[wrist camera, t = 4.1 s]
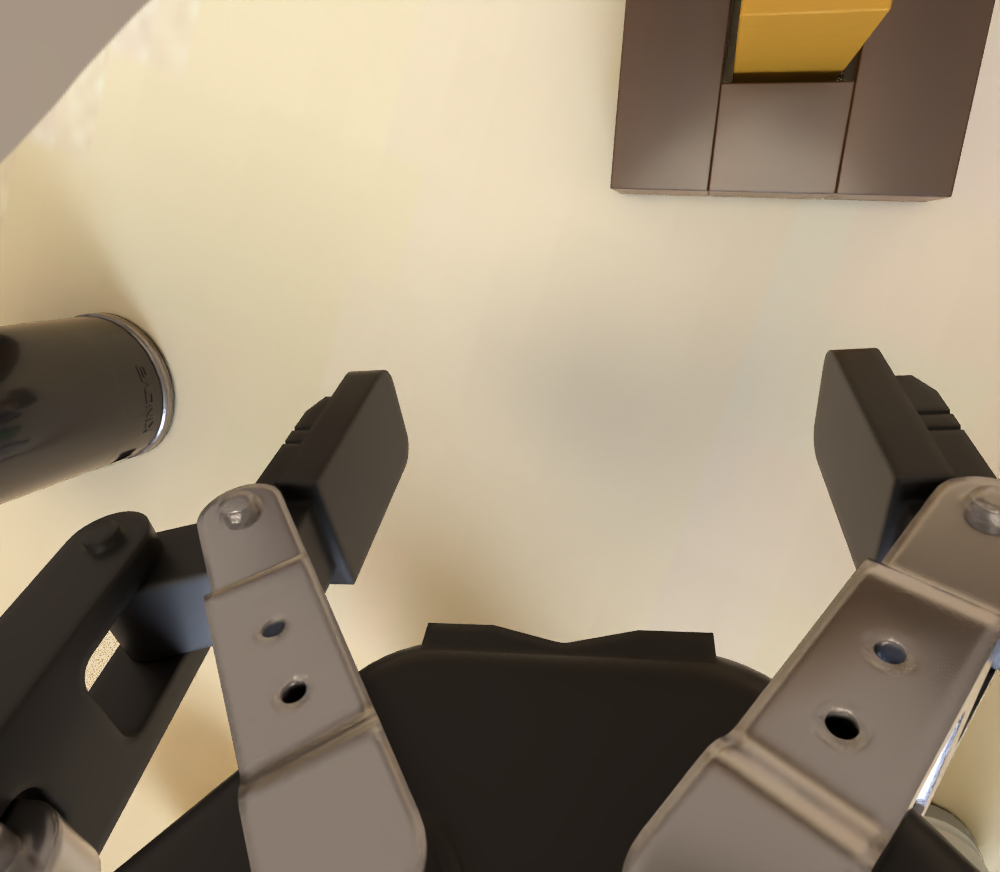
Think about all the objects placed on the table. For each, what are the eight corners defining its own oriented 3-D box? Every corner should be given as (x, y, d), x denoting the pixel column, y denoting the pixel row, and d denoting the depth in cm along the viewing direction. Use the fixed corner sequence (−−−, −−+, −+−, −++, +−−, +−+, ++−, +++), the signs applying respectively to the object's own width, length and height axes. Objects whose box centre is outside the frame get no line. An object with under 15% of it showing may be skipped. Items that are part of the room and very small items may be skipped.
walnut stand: (620, 193, 32) (610, 188, 29) (649, -132, 28) (640, -180, 25) (925, 201, 28) (952, 197, 25) (1003, -168, 25) (1047, -229, 21)
